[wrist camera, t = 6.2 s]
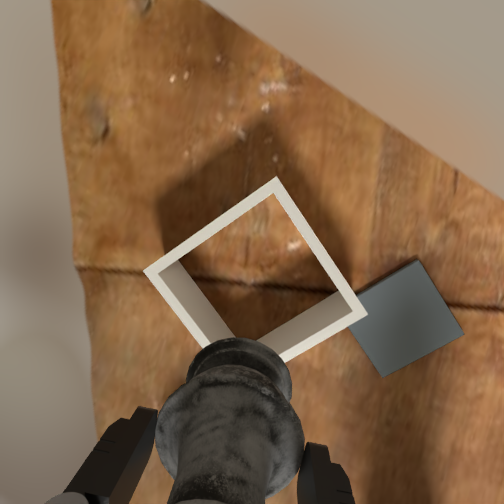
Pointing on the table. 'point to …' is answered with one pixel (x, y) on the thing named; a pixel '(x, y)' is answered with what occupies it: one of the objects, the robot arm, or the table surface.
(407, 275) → the mat
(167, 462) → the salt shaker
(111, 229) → the table surface
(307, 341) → the frame
